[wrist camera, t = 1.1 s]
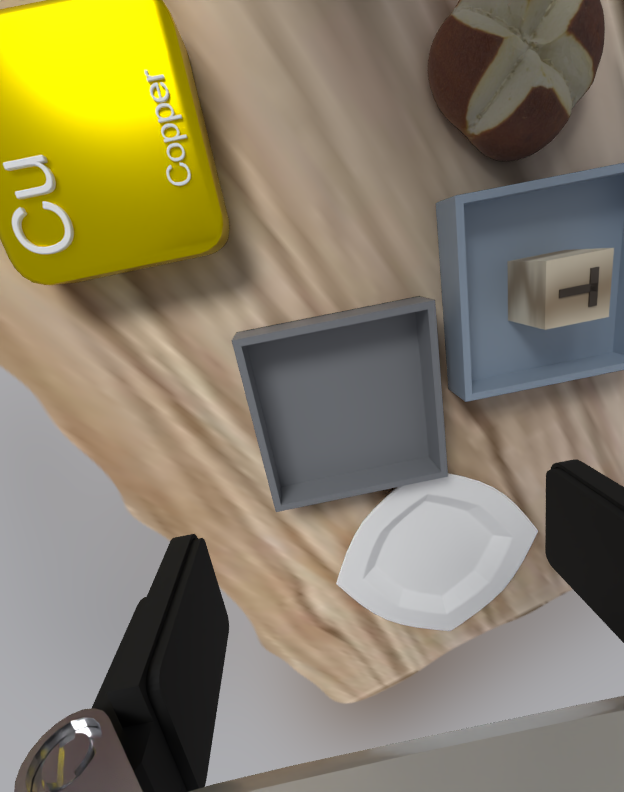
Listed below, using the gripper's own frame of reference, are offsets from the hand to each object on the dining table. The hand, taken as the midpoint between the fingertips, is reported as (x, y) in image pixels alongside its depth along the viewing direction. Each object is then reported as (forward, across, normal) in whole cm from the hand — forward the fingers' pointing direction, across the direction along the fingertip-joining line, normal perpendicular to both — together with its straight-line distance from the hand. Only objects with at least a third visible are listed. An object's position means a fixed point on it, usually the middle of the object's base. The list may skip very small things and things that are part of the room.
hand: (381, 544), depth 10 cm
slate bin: (+25, -20, -3) cm, 32 cm away
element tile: (+25, +12, -17) cm, 33 cm away
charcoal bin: (+25, -2, +4) cm, 26 cm away
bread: (+25, -18, -19) cm, 36 cm away
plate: (+27, -9, +23) cm, 37 cm away
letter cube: (+24, -20, -3) cm, 32 cm away
